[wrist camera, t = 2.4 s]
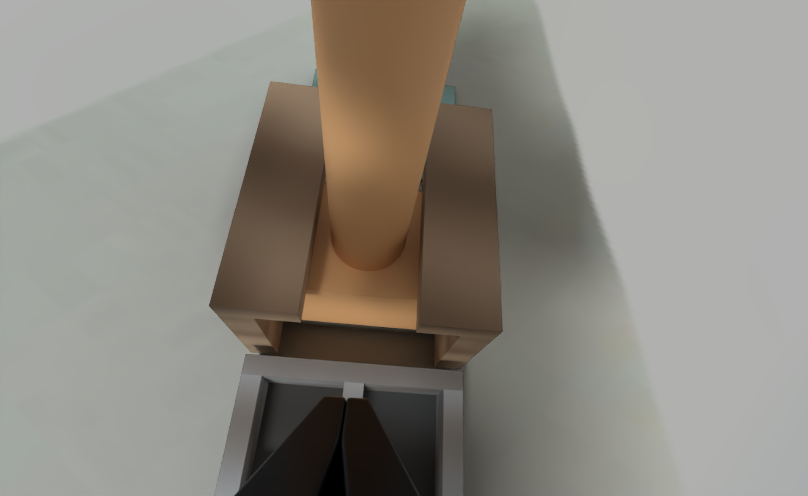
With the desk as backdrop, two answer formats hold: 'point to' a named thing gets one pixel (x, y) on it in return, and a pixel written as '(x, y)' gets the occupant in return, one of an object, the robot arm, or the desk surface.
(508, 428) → the desk surface
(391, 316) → the slider
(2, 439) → the desk surface
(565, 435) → the desk surface
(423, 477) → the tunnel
